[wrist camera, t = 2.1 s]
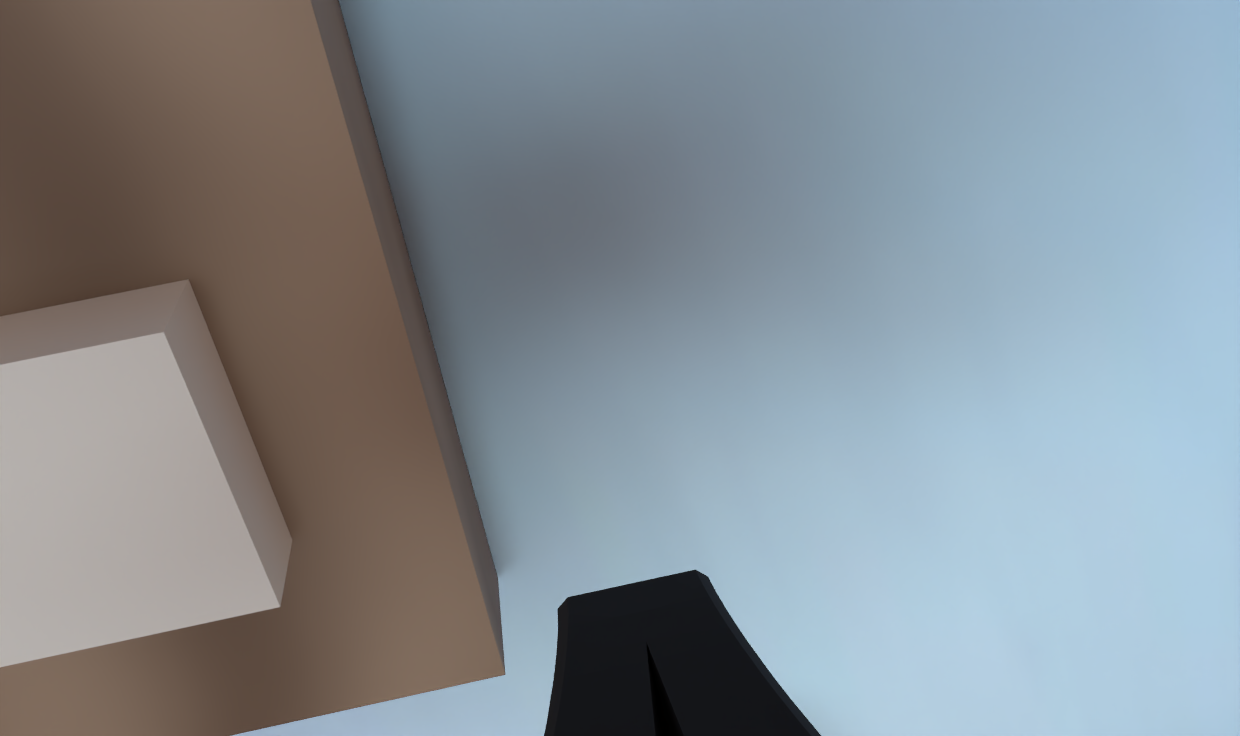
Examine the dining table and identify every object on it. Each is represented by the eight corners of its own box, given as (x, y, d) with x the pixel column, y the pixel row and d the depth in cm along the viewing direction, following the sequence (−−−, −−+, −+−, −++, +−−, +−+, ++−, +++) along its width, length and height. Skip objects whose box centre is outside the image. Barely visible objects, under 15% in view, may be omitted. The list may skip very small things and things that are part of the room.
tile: (-5, 603, 16) (-42, 675, 15) (-160, 347, 14) (-220, 408, 13) (292, 540, 16) (280, 607, 15) (189, 279, 14) (163, 332, 13)
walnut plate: (27, 680, 20) (-22, 790, 18) (-370, 40, 14) (-515, 92, 12) (497, 578, 21) (505, 674, 18) (315, -83, 14) (295, -55, 12)
